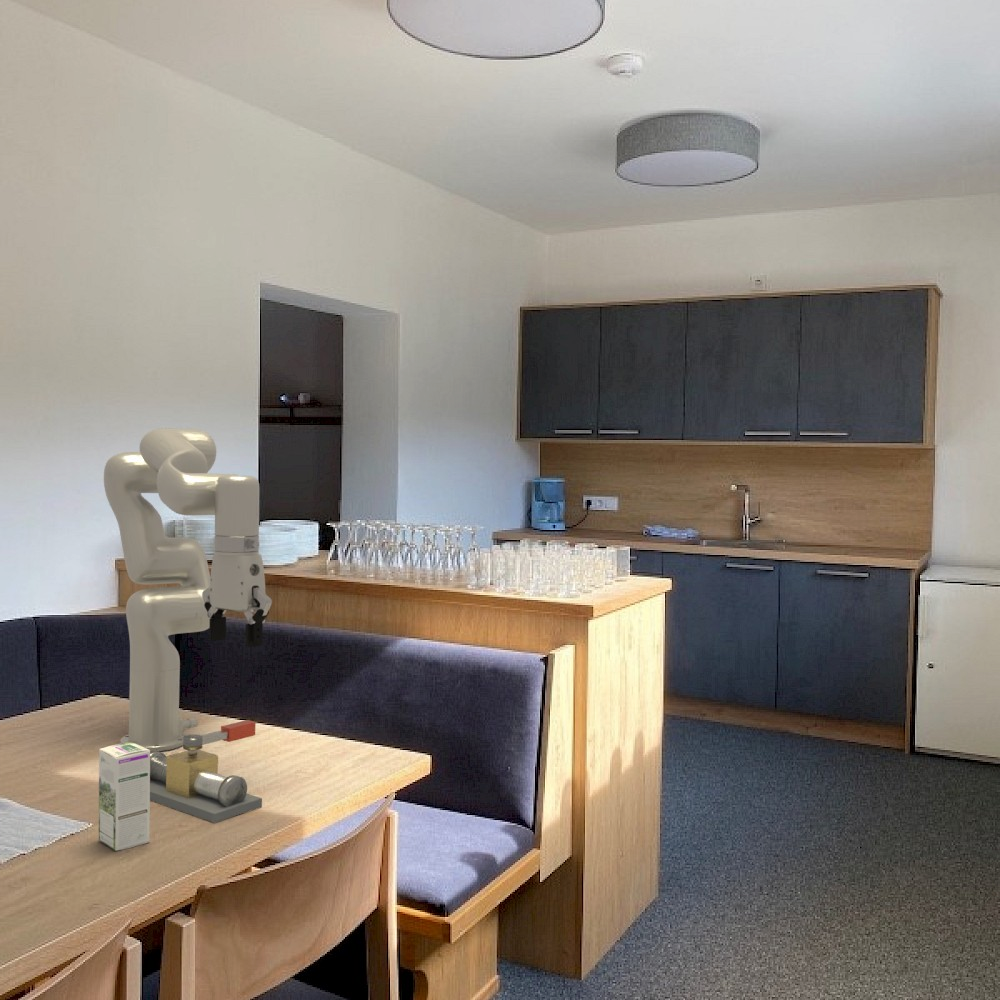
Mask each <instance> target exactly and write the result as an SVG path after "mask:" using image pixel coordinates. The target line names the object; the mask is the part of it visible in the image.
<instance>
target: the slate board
mask: <svg viewBox="0 0 1000 1000" xmlns="http://www.w3.org/2000/svg"><path fill="white" fill-rule="evenodd" d="M150 802H153V803H157V804H159V805H162V806H165V807H168V808H170V809H174V810H177V811H179V812H183V813H185V814H187V815H191V816H192V817H193V816H194V817H195V818H196V817H197V818H199V819H202V820H205V821H207V822H210V823H213V824H216V823H218V822H221V821H225V820H228V819H231V818H233V816H234V817H237V816H240V815H242V813H243V814H245V812H246V813H248V811H249V812H251V811H253V810H257V809H260V808H263V807H262V806H263V798H262V797H259V796H256V795H253V794H250V793H247V794H246V797H245V799H244V801H243V802H241V803H238V804H235V805H232V806H229V807H225V806H222V805H221V804H220V803H219V801H218V800H215V799H212V798H209V797H206V796H203V795H198V796H195V797H192V798H186V797H183V796H180V795H177V794H174V793H171V792H168V791H166V783H164V782H161V781H158V780H155V779H152V780H150ZM259 807H260V808H259ZM256 808H257V809H256ZM250 810H251V811H250ZM239 814H240V815H239ZM236 815H237V816H236ZM230 817H231V818H230Z"/></svg>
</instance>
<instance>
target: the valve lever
mask: <svg viewBox="0 0 1000 1000" xmlns="http://www.w3.org/2000/svg"><path fill="white" fill-rule="evenodd" d="M256 723H257V722H256V721H252V720H249V719H246V720H245V719H244V720H242V721H236V722H233V723H230V724H226V725H221V726H220V730H218V731H214V732H210V733H205V734H187V735H185V736H184V737H183V745H182V749H183V750H184V751H188V755H189V756H195V755H197V751H198V750H201V749H203V746H204V745H208V744H212V743H216V742H220V741H223V742H227V743H231V742H235V741H239V740H242V739H246V738H250V737H254V736H256Z"/></svg>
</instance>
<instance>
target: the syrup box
mask: <svg viewBox="0 0 1000 1000" xmlns="http://www.w3.org/2000/svg"><path fill="white" fill-rule="evenodd" d="M98 751H99V752H98V754H99V755H98V757H99V758H98V842H100V843H102V844H103V845H105V846H107V847H109V848H110V849H111V850H114V851H122V850H127V849H130V848H134V847H138V846H141V845H144V844H147V843H150V826H151V825H150V824H151V823H150V819H151V818H150V817H151V813H150V812H151V808H150V807H151V801H150V750H148V749H146V748H144V747H142V746H139V745H137V744H135V743H133V742H131V743H121V744H120V743H116V744H112V745H109V746H104V747H103V748H102V747H101V748H99V750H98Z"/></svg>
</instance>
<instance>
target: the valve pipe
mask: <svg viewBox="0 0 1000 1000" xmlns="http://www.w3.org/2000/svg"><path fill="white" fill-rule="evenodd" d="M218 767H219V754H215V753H211V752H208V751H205V750H201V749H199V750H198V751H197V755H195V756H189V755H188V750H184V751H182V752H177V753H173V754H169V755H166V754H165V753H163V752H162V751H152V752H150V780H152V779H155V780H158V781H161V782H164V783H166V791H168V792H171V793H174V794H177V795H180V796H183V797H186V798H192V797H195V796H198V795H203V796H206V797H209V798H212V799H215V800H218V801H219V803H220V804H221V805H222V806H225V807H229V806H232V805H235V804H238V803H241V802H243V801H244V799H245V797H246V794H248V784H247V780H246V779H244V777H242V776H239V775H233V774H231V775H229V776H226V775H223V774H219V773H218V771H219V768H218Z"/></svg>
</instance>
